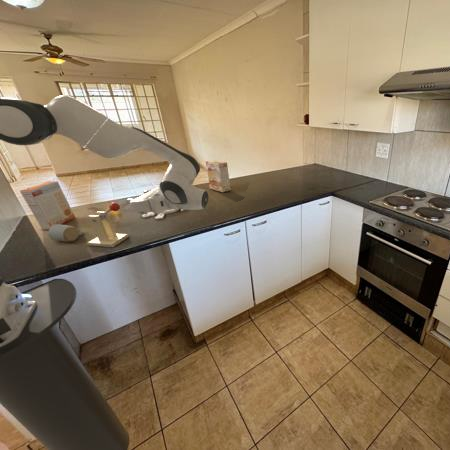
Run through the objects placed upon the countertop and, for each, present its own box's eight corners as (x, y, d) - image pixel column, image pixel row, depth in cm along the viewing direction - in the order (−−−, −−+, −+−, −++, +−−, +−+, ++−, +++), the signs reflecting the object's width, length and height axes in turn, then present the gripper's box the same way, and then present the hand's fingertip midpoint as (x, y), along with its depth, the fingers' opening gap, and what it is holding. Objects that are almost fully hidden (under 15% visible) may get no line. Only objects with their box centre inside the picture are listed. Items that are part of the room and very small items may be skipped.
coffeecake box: (209, 188, 176) (205, 161, 168) (218, 186, 181) (214, 159, 173) (222, 192, 168) (218, 163, 160) (231, 190, 173) (227, 161, 165)
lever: (123, 207, 105) (117, 200, 104) (117, 210, 102) (110, 203, 101) (104, 220, 110) (97, 213, 109) (97, 224, 107) (90, 217, 106)
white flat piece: (198, 204, 150) (198, 202, 150) (153, 222, 130) (152, 219, 129) (178, 197, 161) (178, 195, 160) (133, 212, 140) (132, 210, 140)
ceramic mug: (68, 245, 110) (60, 229, 106) (52, 243, 111) (44, 228, 107) (89, 233, 119) (83, 219, 116) (74, 232, 120) (67, 218, 117)
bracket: (128, 236, 116) (118, 210, 110) (113, 247, 108) (101, 219, 102) (105, 235, 117) (94, 209, 111) (89, 245, 110) (75, 217, 103)
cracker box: (65, 217, 135) (47, 180, 125) (76, 217, 135) (58, 180, 125) (40, 229, 123) (18, 190, 113) (52, 230, 122) (30, 190, 113)
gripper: (181, 182, 106) (151, 181, 107) (149, 200, 88) (114, 198, 90) (184, 196, 109) (155, 194, 110) (154, 215, 91) (120, 214, 92)
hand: (137, 196), depth 100 cm, fingers open, 8 cm apart
